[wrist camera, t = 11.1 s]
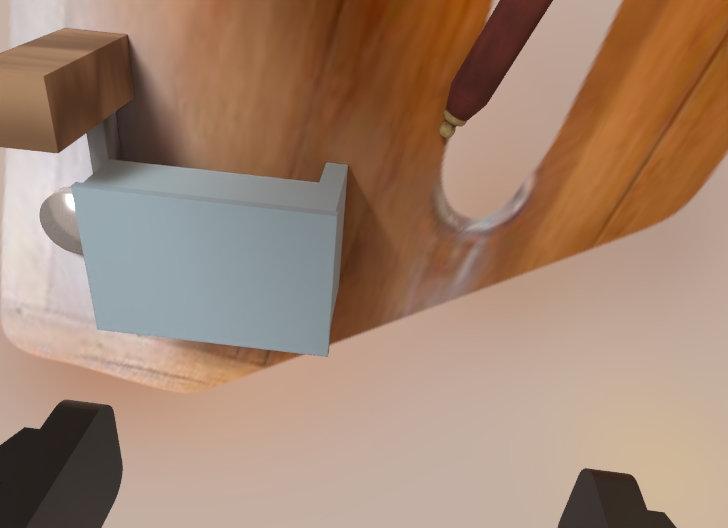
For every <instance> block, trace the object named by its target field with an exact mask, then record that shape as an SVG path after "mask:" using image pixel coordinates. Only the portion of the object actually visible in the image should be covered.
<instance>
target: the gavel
mask: <svg viewBox="0 0 728 528" xmlns="http://www.w3.org/2000/svg"><path fill="white" fill-rule="evenodd" d="M552 1H553V0H500V1H499V3H498V5H497V6H496V8H495V10H494V11H493V13H492V15H491V17H490V18H489V20H488V22H487V23H486V25H485V27H484V29H483V30H482V32H481V34H480V35H479V37H478V39H477V40H476V42H475V44H474V46H473V47H472V49H471V51H470V52H469V54H468V56H467V58H466V59H465V61H464V63H463V64H462V66H461V68H460V70H459V71H458V73H457V75H456V76H455V78H454V80H453V81H452V83H451V88H450V92H449V97H448V101H447V106H446V109H445V110H444V117H445V118H446V121H445V122H443V123H442V124H441V126H440V128H439V133H440V134H441V135H442V136H443V137H446V138H449V137H451V136H452V135H453V134H454V133H455V127H456V126H463V125H464V124H465V123H466V121H467V120H469V119H470V118H471V117H472V116H473V115H475V114H476V113H477V112H478V111H479V110H481V109H482V108H483V107H484V106H486V105H487V103H488V102H489V100H490V98H491V97H492V95H493V94H494V92H495V91H496V89H497V87H498V86H499V84H500V83H501V81H502V79H503V78H504V76H505V75H506V73H507V72H508V70H509V69H510V67H511V65H512V64H513V62H514V61H515V59H516V57H517V56H518V54H519V53H520V51H521V50H522V48H523V46H524V45H525V43H526V42H527V40H528V39H529V37H530V36H531V34H532V32H533V31H534V29H535V28H536V26H537V24H538V23H539V21H540V20H541V18H542V17H543V15H544V14H545V12H546V10H547V9H548V7H549V6H550V4H551V2H552Z"/></svg>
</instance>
